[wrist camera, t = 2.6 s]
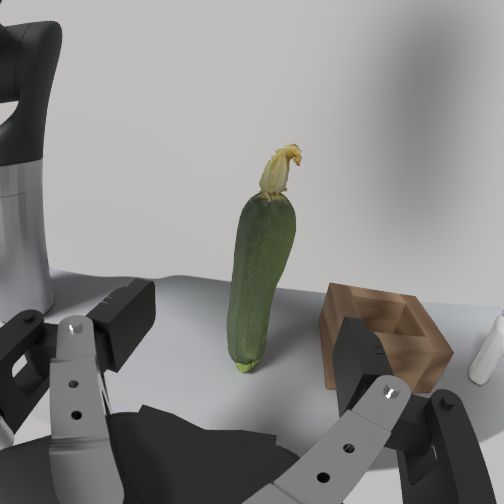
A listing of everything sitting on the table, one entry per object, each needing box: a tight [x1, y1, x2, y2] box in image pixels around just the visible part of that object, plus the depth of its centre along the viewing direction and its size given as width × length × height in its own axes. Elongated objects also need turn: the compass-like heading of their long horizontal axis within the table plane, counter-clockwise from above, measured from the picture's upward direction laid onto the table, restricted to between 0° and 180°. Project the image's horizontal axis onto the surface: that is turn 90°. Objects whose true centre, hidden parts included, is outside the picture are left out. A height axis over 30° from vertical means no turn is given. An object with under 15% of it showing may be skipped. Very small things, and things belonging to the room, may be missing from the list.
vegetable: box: [227, 144, 301, 373], centre depth 23 cm, size 4×4×20 cm
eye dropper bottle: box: [469, 311, 504, 385], centre depth 23 cm, size 4×6×12 cm
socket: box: [319, 283, 454, 393], centre depth 28 cm, size 12×12×6 cm
